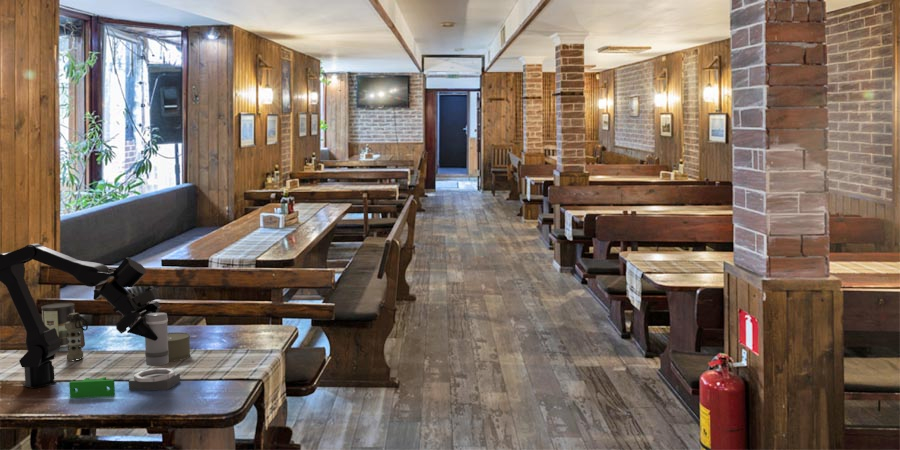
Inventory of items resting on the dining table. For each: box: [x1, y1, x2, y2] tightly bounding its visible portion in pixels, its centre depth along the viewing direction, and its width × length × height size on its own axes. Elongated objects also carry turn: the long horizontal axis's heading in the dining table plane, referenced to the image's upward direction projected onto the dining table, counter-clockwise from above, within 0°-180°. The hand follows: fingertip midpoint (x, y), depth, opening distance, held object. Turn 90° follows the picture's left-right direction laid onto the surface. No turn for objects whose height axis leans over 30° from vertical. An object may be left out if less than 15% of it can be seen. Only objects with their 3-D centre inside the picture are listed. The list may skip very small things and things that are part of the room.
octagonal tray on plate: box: [128, 367, 181, 391], centre depth 205 cm, size 11×10×4 cm
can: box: [168, 332, 191, 362], centre depth 236 cm, size 12×12×7 cm
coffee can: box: [40, 302, 76, 348], centre depth 254 cm, size 10×10×14 cm
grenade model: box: [65, 312, 90, 361], centre depth 235 cm, size 6×7×15 cm
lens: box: [144, 312, 170, 367], centre depth 207 cm, size 6×6×14 cm
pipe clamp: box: [68, 376, 116, 399], centre depth 197 cm, size 11×4×5 cm, turn 97°
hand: (161, 336), depth 207 cm, fingers closed on lens, 6 cm apart
